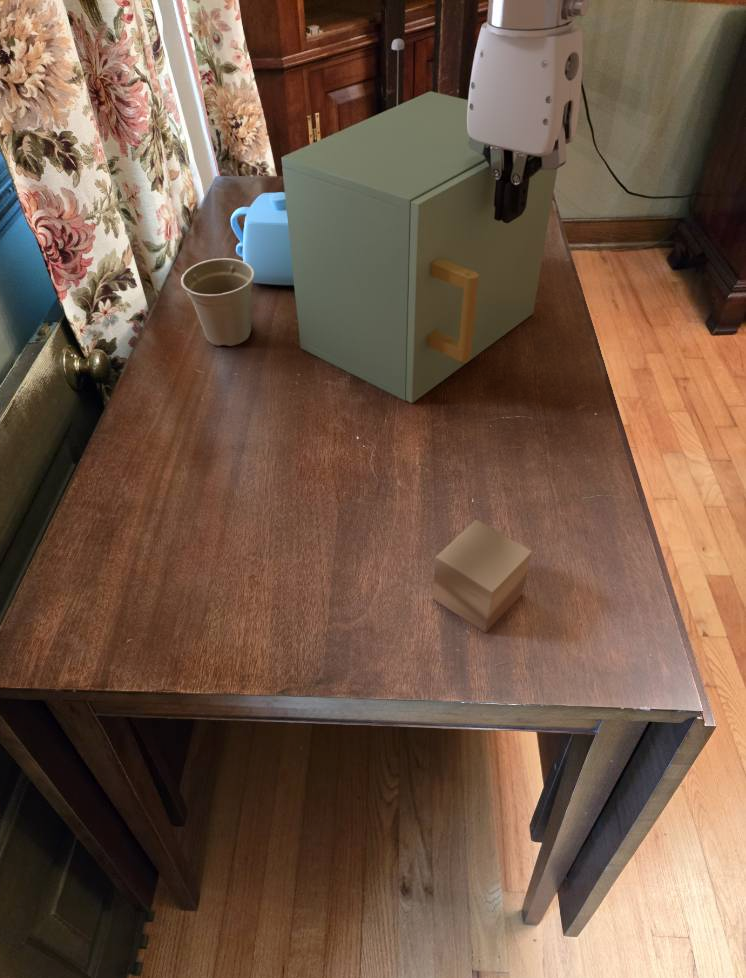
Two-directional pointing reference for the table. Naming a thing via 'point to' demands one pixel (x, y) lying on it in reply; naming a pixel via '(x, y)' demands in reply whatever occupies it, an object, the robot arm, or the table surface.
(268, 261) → the teapot
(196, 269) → the flower pot
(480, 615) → the block
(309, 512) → the table surface
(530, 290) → the cupboard door
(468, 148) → the cupboard
